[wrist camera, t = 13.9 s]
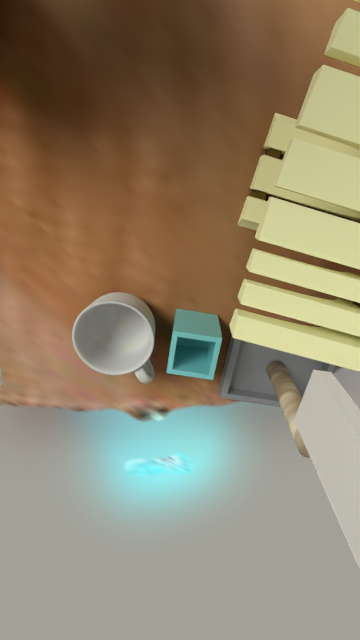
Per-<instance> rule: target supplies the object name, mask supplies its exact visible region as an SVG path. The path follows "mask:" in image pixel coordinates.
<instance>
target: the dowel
mask: <svg viewBox="0 0 360 640" xmlns="http://www.w3.org/2000/svg"><path fill="white" fill-rule="evenodd" d="M266 371H267V374H268V376H269V379H270V381H271V384H272V386H273V388H274V391H275V393H276V396H277V398H278V401H279V403H280V406H281V408H282V410H283V413H284V415H285V417H286V420H287V423H288V425H289V427H290V430H291V432H292V435H293V437H294V440H295V442H296V444H297V447H298V449H299V452H300V453H301V455H303V456H304V457H308V458H310V456H309V453H308V451H307V449H306V447H305V444H304V442H303V440H302V437H301V435H300V433H299V431H298V428H297V426H296V424H295V421H294V419H295V416H296V413H297V411H298V408H299V406H300V403H301V400H302V397H301V395H300V393H299V391H298V389H297V387H296V385H295V383H294V381H293V380H292V378H291V376H290V374H289V372H288V370H287V368H286V366H285V365H284V363H283V362H281V361H272V362H270V363H269V364H268V365H267V367H266Z"/></svg>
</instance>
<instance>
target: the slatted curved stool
mask: <svg viewBox="0 0 360 640" xmlns="http://www.w3.org/2000/svg"><path fill="white" fill-rule="evenodd" d="M354 1H357V2H359V3H360V0H354ZM324 55H327V56H330V57H333V58H336V59H338V60H341V61H344V62H347V63H349V64H352V65H355V66H358V67H360V12H359V11H356V10H353V9H350V8H347V10H346V11H345V12H344V13H343V14H342V16H341V17H340V18H339V19H338V20H337V22H336V23H335V26H334V28H333V31H332V34H331V36H330V39H329V42H328V45H327V47H326V50H325V53H324ZM264 148H265V149H268V150H267V153H266V155H262V156H260V159H259V162H258V165H257V168H256V171H255V174H254V177H253V180H252V183H251V186H250V189H253V190H254V191H253V194H252V197H251V196H247V198H246V201H245V204H244V207H243V210H242V213H241V216H240V219H239V222H238V225H239V226H242V227H246V228H249V229H253V230H256V231H257V232H256V235H255V238H256V239H258V240H260V241H264V242H267V243H270V244H274V245H277V246H281V247H284V248H288V249H291V250H294V251H298V252H301V253H305V254H308V255H312V256H315V257H319V258H322V259H325V260H329V261H332V262H336V263H339V264H343V265H346V266H349V267H353V268H356V269H360V77H359V76H356V75H353V74H350V73H347V72H344V71H341V70H338V69H335V68H332V67H329V66H326V65H322V66H321V67H320V68H319V69H318V70H317V71H316V72H315V73H314V75H313V78H312V80H311V83H310V86H309V89H308V91H307V94H306V97H305V100H304V102H303V105H302V108H301V111H300V113H299V116H298V119H297V120H296V119H293V118H290V117H287V116H284V115H281V114H278V113H275V115H274V118H273V121H272V124H271V127H270V130H269V133H268V136H267V139H266V142H265V145H264ZM281 154H284V157H283V160H280V156H281ZM267 194H270V195H273V196H277V197H280V198H283V199H286V200H290V201H293V202H296V203H300V204H303V205H306V206H310V207H313V208H316V209H320V210H323V211H326V212H329V213H333V214H336V215H339V216H343V217H346V218H350V219H354V220H357V221H359V223H357V222H353V221H350V220H347V219H344V218H340V217H337V216H334V215H330V214H327V213H324V212H320V211H317V210H314V209H310V208H307V207H304V206H300V205H297V204H294V203H291V202H287V201H284V200H281V199H277V198H274V197H269V199H268V201H264V200H265V198H266V195H267ZM246 268H247V269H248V271H249V272H252V273H256V274H259V275H263V276H266V277H270V278H273V279H277V280H280V281H284V282H287V283H291V284H294V285H298V286H301V287H305V288H309V289H312V290H316V291H319V292H323V293H326V294H330V295H333V296H337V297H340V298H344V299H347V300H351V301H353V303H352V302H349V301H345V300H342V299H338V298H337V299H336V300H329V299H323V298H318V297H313V296H309V295H304V294H300V293H296V292H292V291H288V290H285V289H281V288H277V287H273V286H270V285H266V284H262V283H259V282H255V281H251V280H248V279H244V280H243V283H242V286H241V288H240V291H239V294H238V299H239V301H240V303H241V304H242V305H246V306H250V307H253V308H257V309H261V310H264V311H268V312H272V313H275V314H279V315H282V316H286V317H290V318H293V319H297V320H301V321H304V322H308V323H312V324H315V325H319V326H322V327H313V326H307V325H301V324H297V323H292V322H288V321H283V320H279V319H275V318H271V317H267V316H263V315H259V314H255V313H252V312H248V311H244V310H240V309H235V311H234V314H233V317H232V319H231V322H230V325H229V326H230V330H231V333H232V337H233V338H235V339H239V340H243V341H246V342H250V343H254V344H258V345H261V346H265V347H269V348H273V349H276V350H280V351H284V352H288V353H291V354H295V355H299V356H303V357H306V358H310V359H314V360H318V361H321V362H325V363H329V364H333V365H336V366H340V367H344V368H348V369H351V370H355V371H359V372H360V275H356V274H353V273H349V272H346V271H345V272H339V271H334V270H330V269H326V268H322V267H318V266H314V265H311V264H307V263H303V262H300V261H296V260H292V259H289V258H285V257H282V256H278V255H275V254H271V253H268V252H264V251H261V250H257V249H254V248H253V249H252V252H251V255H250V257H249V260H248V263H247V266H246Z"/></svg>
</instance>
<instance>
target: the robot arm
mask: <svg viewBox="0 0 360 640" xmlns="http://www.w3.org/2000/svg"><path fill="white" fill-rule="evenodd" d="M2 383H3V381H2V374H1V367H0V385H1V384H2ZM294 421H295V424H296V426H297V428H298V431H299V433H300V435H301V437H302V440H303V442H304V444H305V447H306V449H307V451H308V453H309V456H310V458H311V460H312V462H313V465H314V467H315V469H316V472H317V474H318V476H319V478H320V481H321V483H322V485H323V487H324V490H325V492H326V494H327V497H328V499H329V501H330V503H331V506H332V508H333V510H334V512H335V514H336V516H337V519H338V522H339V524H340V526H341V528H342V531H343V533H344V535H345V537H346V540H347V542H348V544H349V547H350V548H351V551H352V553H353V556H354V558H355V560H356V563H357V565H358V567H359V569H360V409H359V408H358V407H357V405H356V404H355V403H354V401H353V400H352V399H351V397H350V396H349V395H348V393H347V392H346V391H345V389H344V388H343V387H342V386H341V384H340V383H339V381H338V380H337V379H336V378H335V376H334V375H333V373H332V372H327V371H320V370H313V372H312V374H311V377H310V380H309V382H308V385H307V387H306V390H305V393H304V395H303V398H302V400H301V403H300V406H299V408H298V411H297V413H296V416H295V419H294Z"/></svg>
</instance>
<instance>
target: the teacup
mask: <svg viewBox="0 0 360 640" xmlns="http://www.w3.org/2000/svg"><path fill="white" fill-rule="evenodd" d="M154 338H155V320H154V317H153V314H152V312H151V310H150V308H149V307H148V306H147V305H146V304H145V303H144V302H143V301H142V300H141V299H139V298H138V297H136V296H134V295H131V294H128V293H122V292H115V293H109V294H106V295H103V296H101V297H100V298H98V299H97V300H95V301H94V302H93V303H92V304H90V305H89V306H88V307H87V308H86V309H84V310H83V311H82V312H81V313H80V314H79V316H78V317H77V319H76V321H75V323H74V326H73V332H72V340H73V345H74V348H75V350H76V352H77V354H78V356H79V357H80V358H81V360H83V362H84V363H86V364H87V365H88V366H89V367H91V368H92V369H94V370H96V371H98V372H101V373H104V374H108V375H122V374H127V373H130V372H133V371H134V372H135V375H136V377H137V378H138V380H139V381H140V382H142V383H145V384H146V383H149V382H151V381H152V380H153V379H154V369H153V366H152V363H151V361H150V359H149V358H150V356H151V354H152V352H153V348H154V341H155V340H154Z"/></svg>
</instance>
